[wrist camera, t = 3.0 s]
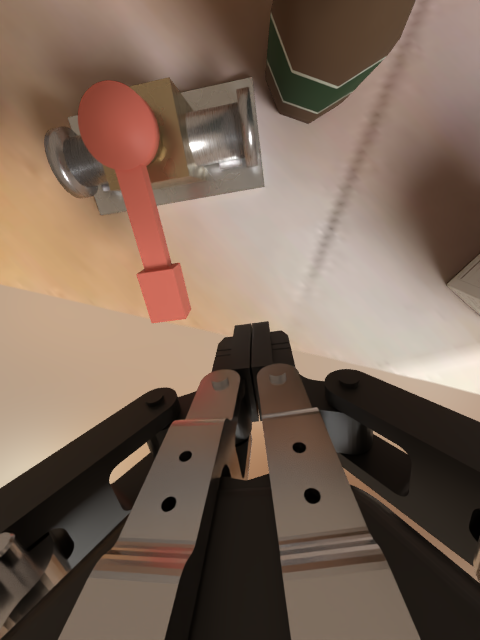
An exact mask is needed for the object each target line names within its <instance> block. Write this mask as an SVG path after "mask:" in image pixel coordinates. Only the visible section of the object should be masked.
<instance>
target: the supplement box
mask: <svg viewBox="0 0 480 640" xmlns="http://www.w3.org/2000/svg"><path fill="white" fill-rule="evenodd" d="M447 286H448V287H449V288H450V289H451V290H452V291H453V292H454V293H456V294H457V295H458V296H459V297H460V298H461V299H462V300H463V301H464V302H465V303H467V304H468V305H469V306H470V307H471V308H472V309H473V310H474V311H476V312H477V313H478V314H479V315H480V254H479V255H478V256H477V257H476V258H475V259H474V260H472V261H471V262H470V263H469V264H468V265H467V266H466V267H465V268H464V269H463V270H462V271H461V272H459V273H458V274H457V275H456V276H455V277H454V278H453V279H452V280H451V281H450V282H449V283H448V284H447Z"/></svg>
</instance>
